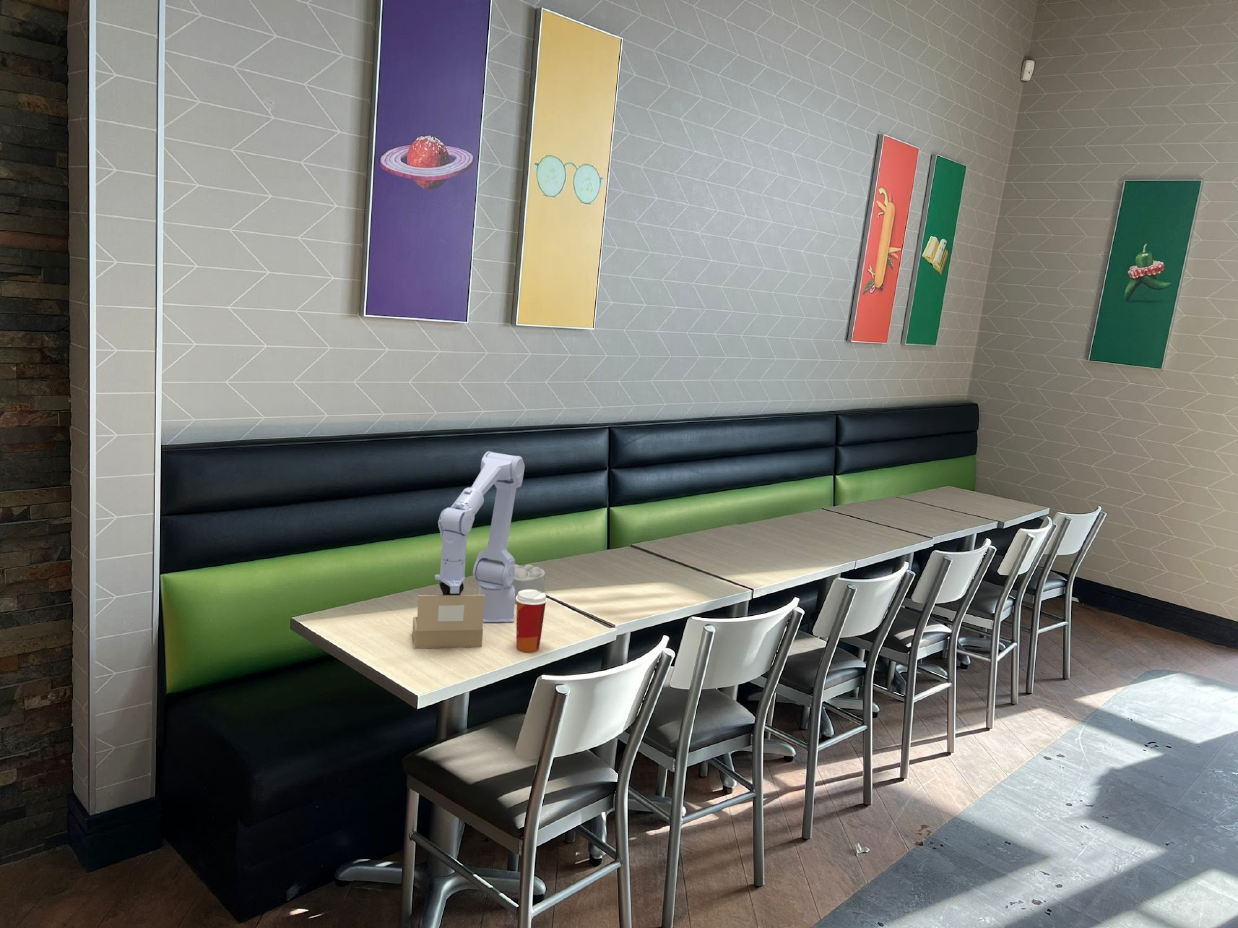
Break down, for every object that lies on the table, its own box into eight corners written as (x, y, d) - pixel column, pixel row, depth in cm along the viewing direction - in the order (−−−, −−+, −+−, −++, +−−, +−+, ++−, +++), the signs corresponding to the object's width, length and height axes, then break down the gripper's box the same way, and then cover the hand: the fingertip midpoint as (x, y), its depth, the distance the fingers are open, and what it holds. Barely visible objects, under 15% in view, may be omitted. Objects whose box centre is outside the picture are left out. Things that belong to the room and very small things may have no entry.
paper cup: (527, 639, 229) (531, 586, 227) (549, 649, 225) (554, 595, 222) (505, 647, 223) (508, 592, 221) (527, 657, 219) (531, 601, 216)
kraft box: (477, 632, 231) (478, 615, 230) (481, 646, 222) (482, 629, 222) (412, 633, 226) (413, 616, 225) (414, 648, 218) (415, 630, 217)
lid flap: (484, 594, 219) (485, 595, 219) (482, 629, 221) (482, 630, 221) (418, 595, 215) (418, 595, 214) (416, 630, 217) (416, 631, 217)
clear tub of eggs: (494, 596, 258) (496, 567, 257) (525, 586, 269) (527, 558, 267) (522, 606, 252) (524, 576, 251) (552, 596, 263) (554, 567, 261)
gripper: (433, 548, 223) (430, 601, 225) (438, 567, 209) (435, 623, 211) (462, 549, 225) (459, 601, 227) (469, 567, 211) (466, 623, 213)
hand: (449, 612), depth 219 cm, fingers closed
